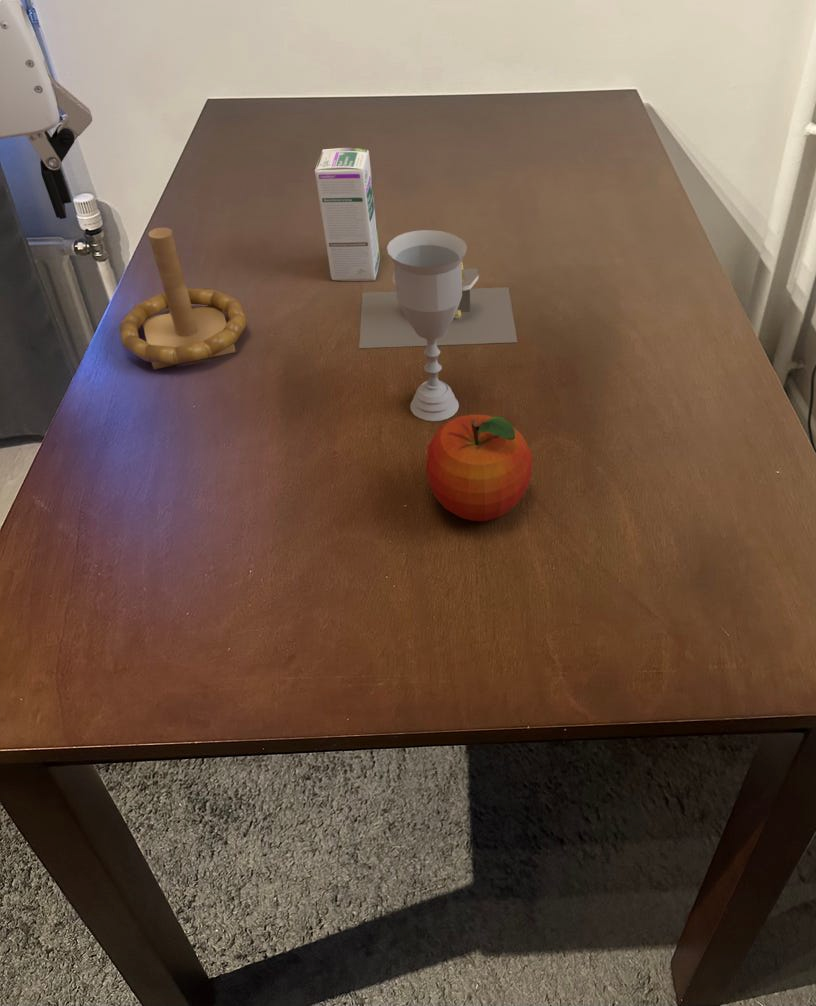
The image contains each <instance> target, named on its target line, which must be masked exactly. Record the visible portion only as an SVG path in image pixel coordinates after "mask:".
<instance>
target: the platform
mask: <svg viewBox="0 0 816 1006" xmlns="http://www.w3.org/2000/svg"><path fill="white" fill-rule="evenodd" d="M463 262H464V261H462V298H461V301H460V303H459V306H458V309H457V312H456V314H455V317H454V319H453V320H452V322H451V324H450V326H449V328H448V329H447V331H446V333H445V335H444V336H442V337H440V338H438V339H437V340H436V344H437V346H454V345H455V346H456V345H457V346H459V345H482V344H483V345H484V344H506V343H507V344H509V343H511V344H512V343H518V337H517V330H516V325H515V319H514V318H515V317H514V311H513V307H512V300H511V294H510V287H504V286H503V287H482V288H481V287H480V288H479V287H477V288H473V287H474V285H475V284H476V283H477V282H478V280H479V269H477V268H474V267H473V268H464V264H463ZM391 280H392V283H393V284H394V285H396V283H395V270H394V271H393V272H392V273H391ZM359 324H360V325H359V341H358V343H359V344H358V349H376V348H378V349H379V348H404V347H406V348H407V347H426V345H427V340H426V339H424V338H421V337H420V336H418V334H417V333H416V332H415V330H414V329H413V327H412V326H411V324H410V323H409V321H408V320H407V318H406V317H405V315H404V313H403V310H402V308H401V306H400V304H399V302H398V300H397V295H396V290H394V291H393V290H392V291H391V290H390V291H365V292H362V293H361V307H360V323H359Z"/></svg>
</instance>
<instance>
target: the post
mask: <svg viewBox="0 0 816 1006" xmlns="http://www.w3.org/2000/svg"><path fill="white" fill-rule="evenodd" d="M147 236H148V239H149V243H150V246H151V250H152V253H153V257H154V260H155V264H156V267H157V272H158V274H159V277H160V281H161V285H162V289H163V293H165V296H166V299H167V303H168V306H169V308H168V310H169V312H168V313H163V314H157V315H153V316H151V317H149V318H147V319H146V320H145V321H144V322H143V324H142V327H143V332H144V336H145V342H147V343H149V344H151V345H159V346H170V347H178V346H183V345H188V344H193V343H198V342H202V341H204V340H206V339H208V338H210V337H212V336H213V335H215V334H217V333H219V332H221V331H222V330H223V329H224V328H225V326H226V325H227V323H228V322H227V320H226V317H225V315H224V310H222V309H220V308H218V307H216V306H212V305H202V306H199V307H194V308H193V306H192V304H191V302H190V298H189V294H188V291H187V288H188V287H187V283H186V279H185V275H184V272H183V267H182V264H181V260H180V257H179V252H178V249H177V245H176V242H175V241H176V240H175V238H174V234H173V230H172V229H171V228H169V227H164V226H163V227H162V226H161V227H155V228H153V229H151V230H150V231H149V232H148V235H147ZM233 353H236V346H235V343H234V344H232V345H230V346H229V347H227V348H225V349H223V350H222V351H220V352H218V353H216V354H215V355H213V356H211V357H209V358H214V357H220V356H224V355H228V354H233ZM209 358H208V359H209ZM205 359H206V358H204V359H203V360H205ZM201 360H202V359H199V360H198V361H201ZM196 361H197V360H195V361H194V362H196ZM191 362H192V361H190V362H189V363H191ZM186 363H188V362H185V363H184V364H186ZM181 364H183V363H180V364H179V365H181ZM176 365H178V364H171V363H160V362H151V366H152V369H153V370H158V369H163V368H167V367H173V366H176Z"/></svg>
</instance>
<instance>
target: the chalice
mask: <svg viewBox="0 0 816 1006" xmlns="http://www.w3.org/2000/svg"><path fill="white" fill-rule="evenodd" d="M386 251H387V254H388V255H389V257H390V258H391V260H392V262H393V267H394V269H393V270H394V271H395V283H396V284H395V291H396V295H397V300H398V302H399V304H400V306H401V308H402V310H403V313H404V315H405V317H406V318H407V320H408V321H409V323H410V324H411V326H412V327H413V329H414V330H415V332H416V333H417V334H418V336H420V337H421V338H424V339H426V340H427V345H426V346H425V349H424V350H423V355H424V356H425V357H426V359H427V362H426V364H425V365H424V366H423V370H424V371H425V372H427V375H428V377H427V380H426V381H424V382H423V383H421V384H420V385H418V387H417V389H416V391H415V393H414V396H413V398H412V400H411V402H410V405H409V406H410V411H411V413H412V414H413V415H414V416H415V417H417V418H418V419H420V420H423V421H427V422H428V421H429V422H439V421H445V420H447V419H450V418H451V417H453V416H455V415H456V414H457V412H458V410H459V407H460V404H459V400H458V399H457V398H456V395H455V394H454V392H453V391H452V388H451V387H450V385H449V384H447V382H445V381H443V380H439V373H440V371H441V370H442V369H443V368H442V364H440V363H439V362H438V361H439V360H438V358H439V356H440V355H441V350H440V349H439V348H438V345H437V344H436V340H437V339H438V338H440V337H442V336H444V335H445V333H446V331H447V329H448V328H449V326H450V324H451V322H452V320H453V319H454V317H455V314H456V312H457V309H458V306H459V303H460V301H461V298H462V262H463V259H464V257H465V256H466V254H467V251H468V247H467V244H466V242H465V241H464V240H463V239H462V238H461V237H459V236H457V235H455V234H453V233H450V232H446V231H442V230H434V229H423V230H422V229H421V230H413V231H407V232H404V233H402V234H399V235H396V236H395V237H394V238H393V239H392V240H390V241H389V242H388V244H387V246H386Z"/></svg>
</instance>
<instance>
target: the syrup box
mask: <svg viewBox="0 0 816 1006" xmlns="http://www.w3.org/2000/svg"><path fill="white" fill-rule="evenodd" d="M370 159H371V158H370V151H369V150H368V149H367V148H355V147H337V148H327V149H325V148H323V149H322V150H321V153H320V156H319V158H318V159H317V162H316V166H315V169H314V175H315V181H316V188H317V189H316V190H317V195H318V202H319V209H320V216H321V223H322V230H323V236H324V242H325V248H326V255H327V261H328V268H329V274H330V280H331V281H337V282H338V281H339V282H374V281H376V279H377V274H378V271H379V266H380V263H381V262H380V261H381V251H380V250H381V249H380V242H379V241H380V240H379V233H378V232H379V231H378V224H377V215H376V206H375V204H376V203H375V196H374V195H375V194H374V187H373V177H372V169H371V168H372V167H371V160H370Z"/></svg>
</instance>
